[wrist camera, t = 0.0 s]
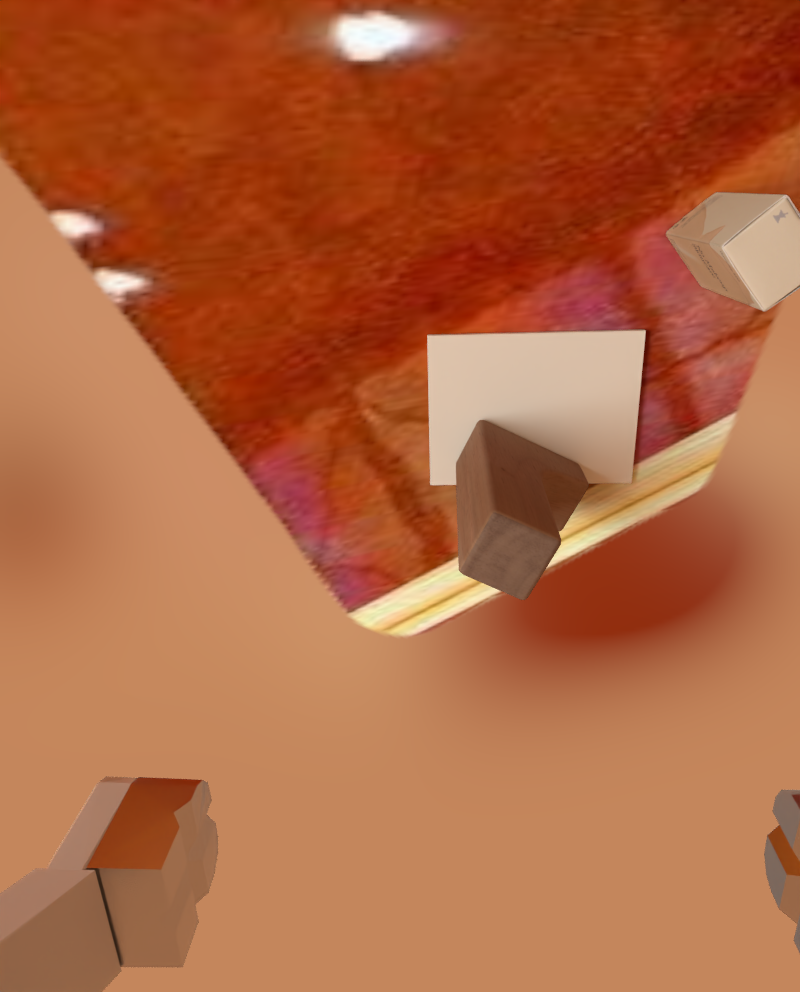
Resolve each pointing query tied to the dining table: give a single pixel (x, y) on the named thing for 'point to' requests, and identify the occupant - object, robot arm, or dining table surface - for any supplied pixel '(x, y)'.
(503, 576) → the wooden block
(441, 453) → the mat
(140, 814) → the robot arm
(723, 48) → the dining table surface
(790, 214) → the box
